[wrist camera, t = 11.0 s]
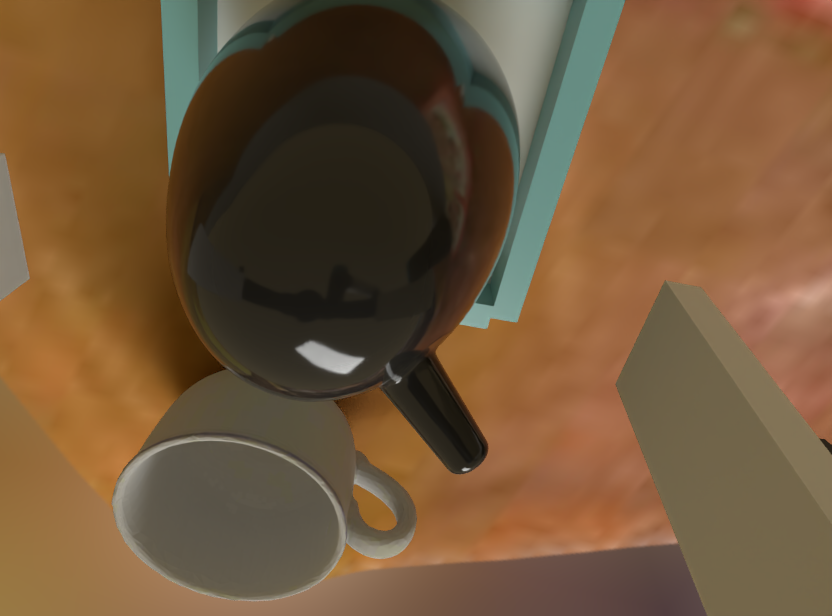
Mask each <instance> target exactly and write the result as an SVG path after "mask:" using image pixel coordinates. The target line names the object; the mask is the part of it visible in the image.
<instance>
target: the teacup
mask: <svg viewBox="0 0 832 616" xmlns="http://www.w3.org/2000/svg"><path fill="white" fill-rule="evenodd" d="M354 484H357V485H359V486H361V487H362V488H364V489H366V490H368V491H370V492H371V493H373V494H374V495H375V496H377V497H378V498H379V499H381V500H382V501H383V502H384V503H385V504H386V505H387V506H388V507H389V508H390V509H391V510H392V512H393V513H394V515H395V517H396V520H397V525H396V526H395V527H394V528H393V529H392V530H388V531H381V530H376V529H374V528H372V527H369V526H368V525H367V524H366V523H365V522H364V521H363V519H362V517H361V515H360V513H359V508H358V503H357V501H356V500H355V499H354V497H353V494H352V493H353V486H354ZM112 505H113V513H114V517H115V521H116V525H117V528H118V529H119V531H120V533H121V534H122V536H123V539H124V541H125V542H126V544H127V545H128V546H129V547H130V548H131V550H132V551H133V552H134V553H135V554H136V555H137V556H138V557H139V558H140V559H141V560H142V561H143V562H144V563H146V564H147V565H148V566H149V567H150V568H152V569H153V570H155V571H157V572H158V573H159V574H161V575H162V576H164V577H165V578H167V579H168V580H170V581H173V582H174V583H176V584H178V585H180V586H183V587H186V588H188V589H190V590H193V591H195V592H198V593H201V594H206V595H209V596H212V597H217V598H223V599H229V600H243V601H267V600H268V601H269V600H275V599H281V598H284V597H288V596H292V595H295V594H298V593H301V592H303V591H305V590H308V589H310V588H311V587H312V586H314V585H316V584H318V583H319V582H320V581H322V580H323V579H324V578H325V577H326V576H327V575H328V574H329V573H330V572H331V570H332V569H333V568H334V567H335V566H336V564H337V562H338V561H339V559H340V558H341V556H342V553H343V551H344V548H345V545H346V543H347V544H348V545H350V546H351V547H352V548H353V549H355V550H356V551H358V552H359V553H361V554H363V555H365V556H368V557H371V558H377V559H384V558H390V557H393V556H395V555H397V554H399V553H400V552H401V551H403V550H404V549H405V548H406V547H407V545H408V544H409V543H410V541H411V539H412V537H413V535H414V532H415V527H416V522H417V517H416V509H415V506H414V503H413V501H412V499H411V497H410V496H409V494H408V493H407V491H406V490H405V489H404V488H403V487H402V486H401V485H400V484H399V483H398V482H397V481H395V480H394V479H393V478H392V477H390V476H389V475H388V474H386V473H385V472H383V471H381V470H380V469H378V468H377V467H375V466H374V465H372V464H370V462H369V461H368V459H367V457H366V456H365V455H364V454H363V453H362V452H360V451H357V450H355V446H354V440H353V435H352V432H351V429H350V426H349V424H348V422H347V420H346V418H345V416H344V414H343V413H342V411H341V410H340V408H339V407H338V406H337V404H336V403H335V402H334V401H333V400H332V401H324V402H302V401H294V400H289V399H285V398H281V397H277V396H274V395H271V394H269V393H266V392H264V391H261V390H259V389H257V388H255V387H253V386H251V385H249V384H247V383H245V382H244V381H242V380H241V379H239V378H238V377H236V376H235V375H233V374H232V373H231V372H230V371H228V370H223V371H220V372H217V373H214V374H212V375H210V376H207V377H205V378H204V379H202V380H200V381H198V382H197V383H195V384H194V385H192V386H191V387H190V388H189V389H187V390H186V391H185V392H184V393H183V394H182V395H181V396H180V397H179V398H178V399H177V400H176V401H175V402H174V403H173V404H172V406H171V407H170V408H169V409H168V411H167V412H166V413H165V415H164V416H163V417H162V418H161V420H160V421H159V423H158V424H157V426H156V427H155V428H154V430H153V431H152V433H151V434H150V435H149V437H148V438H147V440H146V442H145V443H144V445H143V446H142V448H141V449H140V451H139V452H138V454H137V455H136V456H135V457H134V458H133V459H132V460H131V461H130V462H129V463H128V464H127V465H126V466H125V468H124V469H123V471H122V473H121V474H120V476H119V478H118V480H117V483H116V486H115V489H114V493H113V499H112Z"/></svg>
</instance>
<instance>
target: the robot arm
mask: <svg viewBox="0 0 832 616" xmlns="http://www.w3.org/2000/svg"><path fill="white" fill-rule="evenodd" d="M28 279H30V277H29V272H28V267H27V262H26V257H25V252H24V247H23V242H22V237H21V232H20V227H19V222H18V217H17V212H16V207H15V202H14V197H13V192H12V187H11V182H10V177H9V172H8V167H7V162H6V157H5V154H3V153H0V301H1V300H2V299H3V298H5V297H6V296H7V295H9V294H10V293H11V292H13V291H14V290H15V289H17V288H18V287H19V286H21V285H22V284H23V283H25V282H26V281H27V280H28ZM616 387H617V389H618V392H619V395H620V397H621V400H622V402H623V405H624V407H625V410H626V412H627V415H628V417H629V420H630V422H631V425H632V427H633V430H634V432H635V435H636V437H637V440H638V442H639V445H640V447H641V450H642V452H643V455H644V458H645V460H646V463H647V465H648V468H649V470H650V473H651V475H652V478H653V480H654V483H655V485H656V488H657V490H658V493H659V495H660V498H661V500H662V503H663V505H664V508H665V510H666V513H667V515H668V518H669V521H670V523H671V526H672V528H673V531H674V533H675V536H676V538H677V541H678V543H679V546H680V548H681V551H682V553H683V556H684V558H685V561H686V563H687V566H688V568H689V571H690V573H691V576H692V579H693V581H694V584H695V586H696V589H697V591H698V594H699V596H700V599H701V601H702V604H703V606H704V608H705V611H706V614H707V616H832V445H831V444H830V443H828V442H827V441H826V440H825V439H819V438H818V437H817V435H816V434H815V433H814V432H813V430H812V429H811V428H810V426H809V425H808V424H807V423H806V421H805V420H804V419H803V417H802V416H801V415H800V414H799V412H798V411H797V410H796V408H795V407H794V406H793V405H792V403H791V402H790V401H789V399H788V398H787V397H786V396H785V394H784V393H783V392H782V390H781V389H780V388H779V387H778V385H777V384H776V383H775V381H774V380H773V379H772V378H771V376H770V375H769V374H768V372H767V371H766V370H765V369H764V367H763V366H762V365H761V364H760V362H759V361H758V360H757V358H756V357H755V356H754V355H753V353H752V352H751V351H750V349H749V348H748V347H747V346H746V344H745V343H744V342H743V340H742V339H741V338H740V337H739V335H738V334H737V333H736V331H735V330H734V329H733V328H732V326H731V325H730V324H729V322H728V321H727V320H726V319H725V317H724V316H723V315H722V313H721V312H720V311H719V310H718V308H717V307H716V306H715V305H714V303H713V302H712V301H711V299H710V298H709V297H708V296H707V294H706V293H705V292H704V290H703V289H702V288H701V287H697V286H691V285H686V284H681V283H676V282H671V281H665V282H664V284H663V286H662V288H661V290H660V292H659V294H658V296H657V299H656V301H655V303H654V305H653V307H652V309H651V311H650V313H649V315H648V317H647V319H646V321H645V324H644V326H643V328H642V330H641V332H640V334H639V336H638V338H637V340H636V342H635V344H634V347H633V349H632V351H631V353H630V355H629V357H628V359H627V361H626V363H625V365H624V367H623V370H622V372H621V374H620V376H619V378H618V380H617V382H616Z"/></svg>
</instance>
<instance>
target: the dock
mask: <svg viewBox="0 0 832 616" xmlns="http://www.w3.org/2000/svg"><path fill="white" fill-rule="evenodd" d="M272 1H273V0H161V15H162V37H163V58H164V79H165V100H166V122H167V143H168V164H169V176H170V170H171V163H172V158H173V153H174V149H175V144H176V140H177V136H178V133H179V129H180V126H181V123H182V120H183V117H184V114H185V112H186V109H187V107H188V104H189V102H190V99H191V97H192V95H193V93H194V91H195V89H196V87H197V85H198V83H199V81H200V79H201V78H202V76H203V74H204V73H205V71H206V69H207V68H208V66H209V65H210V63H211V62H212V60H213V59H214V58H215V56H216V55H217V54H218V52H219V51H220V50H221V49H222V47H223V46H224V45H225V44H226V42H227V41H228V40H229V39H230V38H231V37H232V36H233V35H234V34H235V32H236V31H237V30H238V29H239V28H240V27H241V26H242V25H243V24H244V23H245V22H246V21H247V20H249V19H250V18H251V17H252V16H253V15H254V14H255V13H257V12H258V11H259V10H260V9H262V8H263V7H264V6H266V5H267V4H269V3H270V2H272ZM441 1H442V2H444V3H445V4H447V5H448V6H450V7H451V8H452V9H454V10H455V11H456V12H457V13H459V14H460V15H461V16H462V17H463V18H464V19H465V20H466V21H468V23H469V24H470V25H471V26H472V27H473V28H474V29H475V30H476V31H477V32H478V33H479V34H480V36H481V37H482V38H483V39H484V41H485V42H486V44H487V45H488V46H489V48H490V49H491V51H492V52H493V54H494V56H495V57H496V59H497V61H498V63H499V65H500V67H501V68H502V70H503V73H504V75H505V77H506V79H507V82H508V85H509V87H510V90H511V93H512V96H513V100H514V104H515V108H516V112H517V118H518V124H519V132H520V172H519V184H518V192H517V199H516V204H515V210H514V214H513V218H512V222H511V226H510V230H509V233H508V236H507V239H506V242H505V245H504V248H503V250H502V253H501V255H500V258H499V260H498V262H497V264H496V267H495V269H494V271H493V273H492V275H491V277H490V279H489V281H488V283H487V285H486V286H485V288H484V290H483V291H482V293H481V295H480V296H479V298H478V300H477V301H476V303H475V304H474V306H473V307H472V309H471V310H470V311H469V313H468V314H467V315H466V317H465V318H464V319H463V320H462V321H461V323H460V324H461V325H467V326H472V327H478V328H484V329H487V327H488V324H489V321H490V318H494V319H500V320H506V321H511V322H517V321H518V318H519V315H520V312H521V309H522V306H523V303H524V300H525V297H526V294H527V291H528V288H529V285H530V282H531V279H532V276H533V273H534V270H535V267H536V264H537V261H538V258H539V255H540V252H541V249H542V246H543V243H544V241H545V238H546V235H547V232H548V229H549V226H550V223H551V220H552V217H553V214H554V211H555V208H556V205H557V202H558V199H559V196H560V193H561V190H562V187H563V184H564V181H565V178H566V175H567V172H568V169H569V166H570V163H571V160H572V157H573V154H574V151H575V148H576V145H577V142H578V139H579V136H580V133H581V130H582V127H583V124H584V121H585V119H586V116H587V113H588V110H589V107H590V104H591V101H592V98H593V95H594V92H595V89H596V86H597V83H598V80H599V77H600V74H601V71H602V68H603V65H604V62H605V59H606V56H607V53H608V50H609V47H610V44H611V41H612V38H613V35H614V32H615V29H616V26H617V23H618V20H619V17H620V14H621V11H622V8H623V5H624V2H625V0H441Z"/></svg>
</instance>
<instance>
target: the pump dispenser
mask: <svg viewBox="0 0 832 616" xmlns="http://www.w3.org/2000/svg"><path fill="white" fill-rule="evenodd" d="M519 172H520V132H519V124H518V118H517V112H516V108H515V104H514V100H513V96H512V93H511V90H510V87H509V85H508V82H507V79H506V77H505V75H504V73H503V70H502V68H501V67H500V65H499V63H498V61H497V59H496V57H495V56H494V54H493V52H492V51H491V49H490V48H489V46H488V45H487V44H486V42H485V41H484V39H483V38H482V37H481V36H480V34H479V33H478V32H477V31H476V30H475V29H474V28H473V27H472V26H471V25H470V24H469V23H468V21H466V20H465V19H464V18H463V17H462V16H461V15H460V14H459V13H457V12H456V11H455V10H454V9H452V8H451V7H450V6H448V5H447V4H445V3H444V2H442V1H441V0H273V1H272V2H270V3H269V4H267V5H266V6H264V7H263V8H262V9H260V10H259V11H258V12H257V13H255V14H254V15H253V16H252V17H251V18H250V19H249V20H247V21H246V22H245V23H244V24H243V25H242V26H241V27H240V28H239V29H238V30H237V31H236V32H235V34H234V35H233V36H232V37H231V38H230V39H229V40H228V41H227V42H226V44H225V45H224V46H223V47H222V49H221V50H220V51H219V52H218V54H217V55H216V56H215V58H214V59H213V60H212V62H211V63H210V65H209V66H208V68H207V69H206V71H205V73H204V74H203V76H202V78H201V79H200V81H199V83H198V85H197V87H196V89H195V91H194V93H193V95H192V97H191V99H190V102H189V104H188V107H187V109H186V112H185V114H184V117H183V120H182V123H181V126H180V129H179V133H178V136H177V140H176V144H175V149H174V153H173V158H172V163H171V170H170V176H169V183H168V193H167V208H166V237H167V250H168V258H169V264H170V269H171V274H172V278H173V281H174V285H175V288H176V291H177V294H178V297H179V300H180V302H181V305H182V307H183V310H184V312H185V314H186V316H187V318H188V320H189V322H190V324H191V326H192V328H193V330H194V331H195V333H196V334H197V336H198V338H199V339H200V341H201V342H202V343H203V345H204V346H205V347H206V349H207V350H208V351H209V352H210V353H211V355H212V356H213V357H214V358H215V359H216V360H217V361H218V362H219V363H220V364H221V365H222V366H224V367H225V368H226V369H227V370H228V371H230V372H231V373H232V374H233V375H235V376H236V377H238V378H239V379H241V380H242V381H244V382H245V383H247V384H249V385H251V386H253V387H255V388H257V389H259V390H261V391H264V392H266V393H269V394H271V395H274V396H277V397H281V398H285V399H289V400H294V401H302V402H324V401H332V400H338V399H343V398H347V397H351V396H355V395H359V394H363V393H366V392H369V391H371V390H374V389H376V388H380V389H381V390H382V391H383V392H384V393H385V395H386V396H387V397H388V398H389V399H390V400H391V402H392V403H393V404H394V405H395V406H396V408H397V409H398V410H399V411H400V412H401V414H402V415H403V416H404V417H405V418H406V420H407V421H408V422H409V423H410V424H411V426H412V427H413V428H414V429H415V430H416V432H417V433H418V434H419V435H420V436H421V438H422V439H423V440H424V441H425V442H426V444H427V445H428V446H429V447H430V448H431V450H432V451H433V452H434V453H435V455H436V456H437V457H438V458H439V459H440V461H441V462H442V463H443V464H444V465H445V467H446V468H447V469H448V470H449V471H450V472H452V473H454V474H465V473H468V472H470V471H472V470H474V469H475V468H477V467H478V466H479V465H480V464H481V463H482V462H483V461H484V459H485V458H486V456H487V453H488V443H487V441H486V439H485V437H484V436H483V434H482V432H481V430H480V429H479V427H478V425H477V424H476V422H475V420H474V419H473V417H472V415H471V414H470V412H469V410H468V408H467V407H466V405H465V403H464V402H463V400H462V398H461V397H460V395H459V393H458V392H457V390H456V388H455V387H454V385H453V383H452V381H451V380H450V378H449V376H448V375H447V373H446V371H445V370H444V368H443V366H442V364H441V363H440V361H439V359H438V357H437V355H436V353H435V352H436V349H437V348H438V346H439V345H440V344H441V343H442V342H443V341H444V340H445V339H446V338H447V337H448V336H449V335H450V334H451V333H452V332H453V331H454V329H455V328H456V327H457V326H458V325H459V324H460V323H461V321H462V320H463V319H464V318H465V317H466V315H467V314H468V313H469V311H470V310H471V309H472V307H473V306H474V304H475V303H476V301H477V300H478V298H479V296H480V295H481V293H482V291H483V290H484V288H485V286H486V285H487V283H488V281H489V279H490V277H491V275H492V273H493V271H494V269H495V267H496V264H497V262H498V260H499V258H500V255H501V253H502V250H503V248H504V245H505V242H506V239H507V236H508V233H509V230H510V226H511V222H512V218H513V214H514V210H515V204H516V199H517V192H518V184H519Z"/></svg>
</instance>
